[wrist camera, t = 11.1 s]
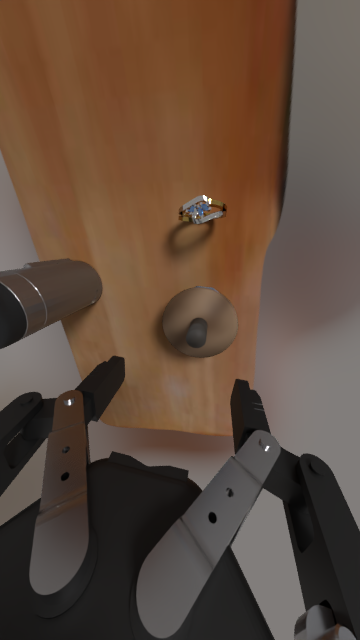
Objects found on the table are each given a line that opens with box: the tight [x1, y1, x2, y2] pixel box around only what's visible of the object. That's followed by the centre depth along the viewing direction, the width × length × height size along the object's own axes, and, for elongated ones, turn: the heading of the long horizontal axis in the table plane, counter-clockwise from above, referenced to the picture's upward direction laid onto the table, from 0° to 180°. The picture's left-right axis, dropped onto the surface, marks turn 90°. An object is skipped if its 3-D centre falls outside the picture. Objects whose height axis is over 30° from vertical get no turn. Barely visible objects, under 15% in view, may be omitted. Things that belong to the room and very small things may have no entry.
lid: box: [162, 287, 238, 358], centre depth 30 cm, size 13×13×6 cm
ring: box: [179, 196, 227, 224], centre depth 27 cm, size 7×3×8 cm, turn 87°
